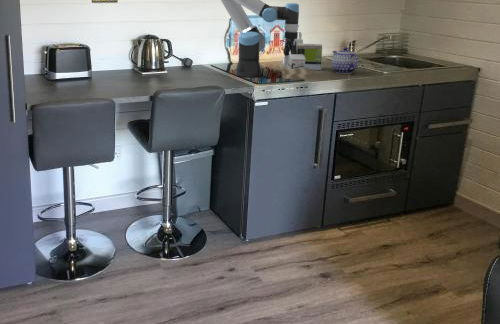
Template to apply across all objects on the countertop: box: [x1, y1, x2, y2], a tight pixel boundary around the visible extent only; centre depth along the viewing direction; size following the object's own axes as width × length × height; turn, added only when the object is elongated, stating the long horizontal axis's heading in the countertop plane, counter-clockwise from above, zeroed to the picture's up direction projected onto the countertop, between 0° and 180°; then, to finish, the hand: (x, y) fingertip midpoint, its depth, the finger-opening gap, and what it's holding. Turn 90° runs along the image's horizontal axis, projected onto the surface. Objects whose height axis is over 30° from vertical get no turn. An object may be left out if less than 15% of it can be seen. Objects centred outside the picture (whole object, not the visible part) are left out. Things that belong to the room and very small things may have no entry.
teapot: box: [331, 46, 359, 75], centre depth 340 cm, size 25×15×15 cm, turn 24°
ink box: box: [286, 53, 306, 69], centre depth 322 cm, size 9×5×12 cm, turn 103°
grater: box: [282, 31, 304, 64], centre depth 365 cm, size 10×10×20 cm
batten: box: [281, 68, 311, 80], centre depth 320 cm, size 15×3×5 cm, turn 103°
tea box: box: [297, 43, 323, 71], centre depth 350 cm, size 15×10×15 cm, turn 84°
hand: (289, 68), depth 334 cm, fingers open, 13 cm apart
